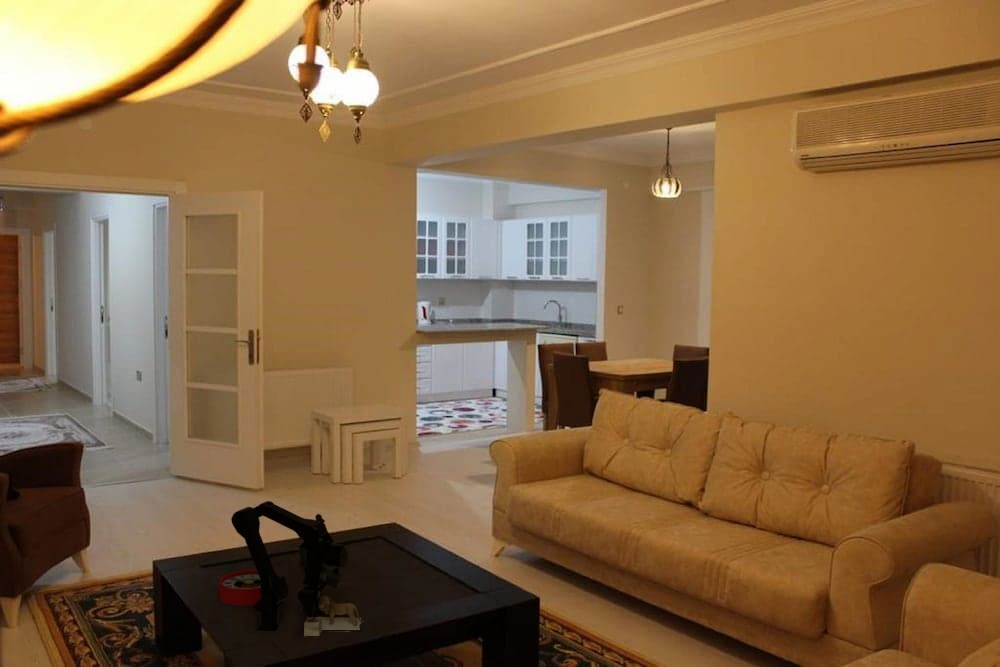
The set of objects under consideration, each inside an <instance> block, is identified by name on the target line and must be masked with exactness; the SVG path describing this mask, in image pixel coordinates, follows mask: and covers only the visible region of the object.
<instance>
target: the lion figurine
mask: <svg viewBox="0 0 1000 667" xmlns="http://www.w3.org/2000/svg"><path fill="white" fill-rule="evenodd" d="M318 606H319V609H320V610H322V611H323V612H322V613H324V614H325V615H329V617H330V620H329V621H330V623H329V625H332V624H333V623H334V617H336V615H338V616H342V615H345V614H347V616H348V618H351V619H350V620H348V622H352V620H354V621H355V623H354V624H353V625H354V626H357V624H358V621H357V618H358V620H359V621H360V622H364V621H362V620H360V618H361V617H360V615H359V612H358V609H357V607H356V606H355V604H353V603H351V602H346V603H340V602H339V601H337V600H336V599H335V598H332V596H328V595H326V596H322V597H320V601H319V605H318ZM355 614H356V616H355Z"/></svg>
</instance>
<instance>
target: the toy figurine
mask: <svg viewBox="0 0 1000 667" xmlns="http://www.w3.org/2000/svg"><path fill="white" fill-rule="evenodd" d="M315 520H317V521H321V522H323V523H324V524H325V520H326V519H323V515H322V514H321V513H317V514H316V515H315ZM322 541H324V540H323V539H321V540H320V541H319V542H322ZM298 554H299V557H300V561H301V562H303V563H305V549H301V548H299V552H298Z"/></svg>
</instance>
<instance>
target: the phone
mask: <svg viewBox="0 0 1000 667" xmlns="http://www.w3.org/2000/svg"><path fill="white" fill-rule="evenodd" d="M322 596H327V594H321V597H322ZM301 612H306V611H305V609H304V607H303V605H302V604H301V608H300V613H301ZM313 612H322V613H324V612H323V611H322V610H320V609H319V606H318V607H315V606H314V610H313Z"/></svg>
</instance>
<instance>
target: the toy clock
mask: <svg viewBox="0 0 1000 667" xmlns="http://www.w3.org/2000/svg"><path fill="white" fill-rule="evenodd" d="M260 585H261V580H260V577H259V575H258V572H257V570H256V569H255V570H253V569H252V570H242V571H235V572H231V573H229V574H226V575H224V576H222V577H221V578H220V579H219V580H218V586H219V587H218V599H219V598H220V599H219V601H220V600H221V601H223V602H225V603H228V604H227V605H229V604H233V605H232V606H235V605H251V606H254V605H255V604H256V603H257V602H258V601H259V600H260V599H261V598H262V597H261V593H260ZM221 601H220V602H221ZM223 602H222V603H223ZM225 603H224V604H225Z"/></svg>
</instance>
